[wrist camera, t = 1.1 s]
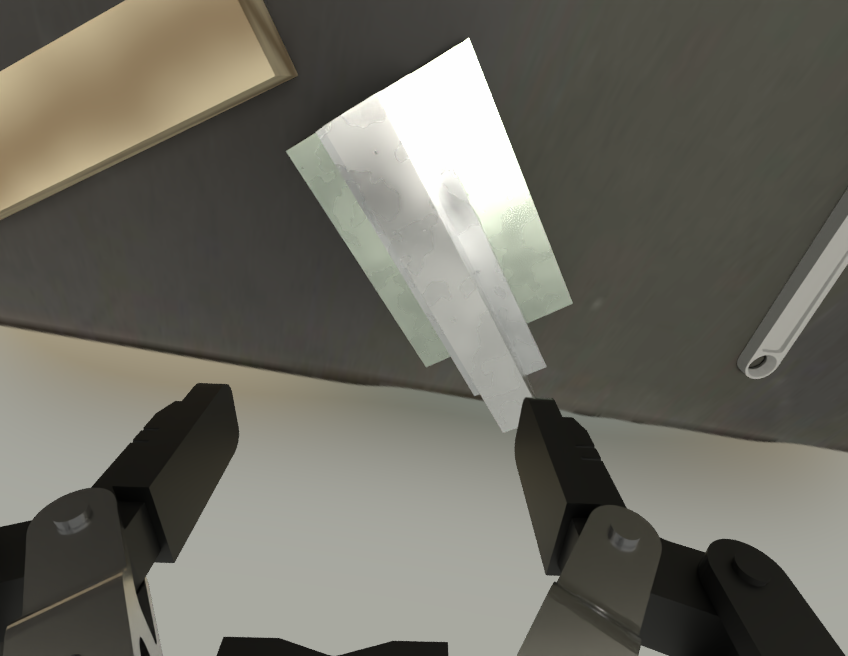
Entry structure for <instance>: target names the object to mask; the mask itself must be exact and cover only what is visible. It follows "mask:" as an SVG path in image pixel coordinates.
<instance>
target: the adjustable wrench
mask: <svg viewBox="0 0 848 656" xmlns="http://www.w3.org/2000/svg"><path fill="white" fill-rule="evenodd" d="M847 264H848V188H847V190H846V191H845V193H844V194H843V196H842V197H841V199H840V201H839V202H838V204H837V205H836V207H835V208H834V210H833V211H832V213H831V215H830V216H829V218H828V219H827V221H826V222H825V224H824V225H823V227H822V229H821V230H820V232H819V233H818V235H817V236H816V238H815V240H814V241H813V243H812V244H811V246H810V247H809V249H808V250H807V252H806V254H805V255H804V257H803V258H802V260H801V261H800V263H799V264H798V266H797V268H796V269H795V271H794V272H793V274H792V275H791V277H790V279H789V280H788V282H787V283H786V285H785V286H784V288H783V289H782V291H781V293H780V294H779V296H778V297H777V299H776V300H775V302H774V303H773V305H772V307H771V308H770V310H769V311H768V313H767V314H766V316H765V318H764V319H763V321H762V322H761V324H760V325H759V327H758V328H757V330H756V332H755V333H754V335H753V336H752V338H751V339H750V341H749V342H748V344H747V346H746V347H745V349H744V350H743V352H742V353H741V355H740V357H739V358H738V361H737V366H738V368H739V369H740V370H741V371H742V372H743V373H745V374H746V375H747V376H748V377H749V378H753V379H759V378H763V377H766V376H768V375H770V374H771V373H772V372H774V370H775V369H776V368H777V367H778V365H779V364H780V363H781V361H782V360H783V358H784V357H785V355H786V354H787V352H788V351H789V349H790V348H791V346H792V345H793V343H794V342H795V340H796V339H797V337H798V336H799V335H800V333H801V332H802V330H803V329H804V327H805V326H806V324H807V323H808V321H809V320H810V318H811V317H812V315H813V314H814V312H815V311H816V310H817V308H818V307H819V305H820V304H821V302H822V301H823V299H824V298H825V296H826V295H827V293H828V292H829V290H830V289H831V287H832V286H833V284H834V283H835V282H836V280H837V279H838V277H839V276H840V274H841V273H842V271H843V270H844V268H845V267H846V265H847ZM764 355H766V358H765V360H764V361H763V362H762V363H761V364H760V365H758V366H756V367H753V368H748V367H749V365H750V364H751V363H752V362H753V361H754V360H755V359H757V358H759V357H761V356H764Z"/></svg>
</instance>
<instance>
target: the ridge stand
mask: <svg viewBox="0 0 848 656" xmlns="http://www.w3.org/2000/svg"><path fill="white" fill-rule="evenodd" d="M322 127H323V128H321V129H319V130H318V131H316V133H315V134H313V135H311V136H310V137H308V138H307V139H305V140H303V141H302V142H300V143H298V144H297V145H295V146H294V147H292V148H290V149H289V150H287V151H286V152H287V154H288V155H289V157H290V158H291V160H292V161H293V163H294V164H295V166H296V168H297V169H298V171H299V172H300V174H301V175H302V177H303V178H304V180H305V181H306V183H307V184H308V186H309V188H310V189H311V191H312V192H313V194H314V195H315V197H316V198H317V200H318V201H319V203H320V204H321V206H322V208H323V209H324V211H325V212H326V214H327V215H328V217H329V218H330V220H331V221H332V223H333V225H334V226H335V228H336V229H337V231H338V232H339V234H340V235H341V237H342V238H343V240H344V241H345V243H346V245H347V246H348V248H349V249H350V251H351V252H352V254H353V255H354V257H355V258H356V260H357V262H358V263H359V265H360V266H361V268H362V269H363V271H364V272H365V274H366V275H367V277H368V278H369V280H370V282H371V283H372V285H373V286H374V288H375V289H376V291H377V292H378V294H379V295H380V297H381V298H382V300H383V302H384V303H385V305H386V306H387V308H388V309H389V311H390V312H391V314H392V315H393V317H394V319H395V320H396V322H397V323H398V325H399V326H400V328H401V329H402V331H403V332H404V334H405V335H406V337H407V339H408V340H409V342H410V343H411V345H412V346H413V348H414V349H415V351H416V352H417V354H418V356H419V357H420V359H421V360H422V362H423V363H424V365H425V366H426V367H428V366H430V365H432V364H435V363H437V362H439V361H442V360H444V359H446V358H448V357H451V358H452V359H453V361H454V363H455V364H456V366H457V368H458V369H459V371H460V373H461V374H462V376H463V378H464V379H465V381H466V383H467V384H468V386H469V388H470V389H471V391H472V393H473V394H474V396H476V395H478V394H480V395H481V396H482V398H483V400H484V401H485V403H486V405H487V406H488V408H489V410H490V411H491V413H492V415H493V416H494V418H495V420H496V421H497V423H498V425H499V427H500V428H501V430H502V432H503V433H504V432H507V431H510V430H512V429H515V428H518V423H519V418H520V413H521V408H522V403H523V400H524V398H525V397H535V394H534V392H533V389H532V386H531V383H530V381H529V378H528V374H530V373H533V372H535V371H537V370H540V369H542V368H545V367H546V364H545V362H544V360H543V358H542V355H541V353H540V351H539V348H538V346H537V344H536V342H535V339H534V337H533V335H532V333H531V330H530V328H529V326H528V323H529V322H531V321H534V320H536V319H538V318H540V317H543V316H545V315H547V314H550V313H552V312H554V311H556V310H559V309H561V308H563V307H566V306H568V305H570V304H573V303H572V300H571V298H570V295H569V292H568V290H567V287H566V285H565V282H564V280H563V277H562V275H561V272H560V269H559V267H558V264H557V262H556V259H555V257H554V254H553V252H552V249H551V246H550V244H549V241H548V239H547V236H546V234H545V231H544V229H543V226H542V223H541V221H540V218H539V216H538V213H537V211H536V208H535V206H534V203H533V200H532V198H531V195H530V193H529V190H528V188H527V185H526V183H525V180H524V177H523V175H522V172H521V170H520V167H519V165H518V162H517V160H516V157H515V154H514V152H513V149H512V147H511V144H510V142H509V139H508V137H507V134H506V131H505V129H504V126H503V124H502V121H501V119H500V116H499V114H498V111H497V108H496V106H495V103H494V101H493V98H492V96H491V93H490V91H489V88H488V85H487V83H486V80H485V78H484V75H483V73H482V70H481V68H480V65H479V62H478V60H477V57H476V55H475V52H474V50H473V47H472V45H471V42H470V40H469V38H468V39H467V40H465V41H463V42H462V43H460V44H459V45H457V46H455V47H454V48H452V49H450V50H449V51H447V52H446V53H444V54H442V55H441V56H439V57H438V58H436V59H434V60H433V61H431V62H429V63H428V64H426V65H425V66H423V67H421V68H420V69H418V70H416V71H415V72H413V73H412V74H408V75H407V76H405V77H403V78H402V79H400V80H399V81H397V82H395V83H394V84H392V85H391V86H389V87H387V88H386V89H384V90H382V91H380V92H378V93H376V94H374V95H372V96H371V97H369V98H368V99H366V100H364V101H363V102H361V103H360V104H358V105H356V106H355V107H353V108H352V109H350V110H348V111H347V112H345V113H343V114H342V115H340V116H339V117H337V118H335V119H334V120H332V121H331V122H329V123H327V124H326V125H324V126H322ZM535 398H536V397H535Z"/></svg>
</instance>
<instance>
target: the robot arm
mask: <svg viewBox="0 0 848 656" xmlns="http://www.w3.org/2000/svg"><path fill="white" fill-rule="evenodd" d="M238 438H239V427H238V422H237V417H236V411H235V406H234V400H233V395H232V390H231V388H230V387H229V385H227V384H208V383H198V384H196V385H195V386H194V387H193V388H192V390H191V391H190V392H189V393H188V394H187V396H186V397H185V398H184V399H183V400H182V401H175V402H173V403H172V404H170V405H168V406H167V407H165V408H164V409H162V410H161V411H159V412H157V413H156V414H155V415H154V416H153V418H152V419H151V420H150V421H149V422H148V423H147V424H146V426H145V427H144V430H143V431H140V433H139V434H138V435H137V436H136V437H135V438H134V439H133V443H130V444H129V445H128V446H127V447H126V449H124V451H123V452H122V453H121V454H120V455H119V456H118V457H117V459H116V460H115V461H114V462H113V463H112V464H111V465H110V467H109V468H108V469H107V470H106V471H105V472H104V473H103V475H102V476H101V477H100V478H99V479H98V480H97V481H96V483H95V484H94V485H93V486H92V487H91V488H86V489H82V490H78V491H75V492H72V493H69V494H67V495H64V496H62V497H60V498H58V499H57V500H55V501H54V502H52V503H50V504H49V505H47V506H46V507H45V508H43V509H42V510H41V511H40V512H39V513H38V514H37V515H36V516H35V517H34V519H33V520H32V521H26V522H22V523H17V524H13V525H8V526H3V527H0V656H163V654H162V649H161V644H160V639H159V634H158V629H157V624H156V619H155V614H154V609H153V604H152V599H151V594H150V589H149V584H148V581H147V578H146V575H147V573H148V572H149V570H150V568H151V567H152V565H153V563H154V562H160V563H174V562H175V561H176V559H177V557H178V555H179V553H180V552H181V550H182V548H183V546H184V544H185V542H186V541H187V539H188V537H189V535H190V533H191V531H192V530H193V528H194V526H195V524H196V522H197V521H198V519H199V517H200V515H201V513H202V511H203V509H204V508H205V506H206V504H207V502H208V500H209V498H210V497H211V495H212V493H213V491H214V489H215V488H216V486H217V484H218V482H219V480H220V479H221V477H222V475H223V473H224V471H225V469H226V468H227V466H228V464H229V462H230V460H231V458H232V457H233V455H234V453H235V450H236V448H237V444H238ZM515 460H516V465H517V469H518V472H519V476H520V480H521V484H522V487H523V491H524V495H525V499H526V503H527V506H528V510H529V514H530V517H531V521H532V525H533V529H534V533H535V536H536V540H537V544H538V548H539V551H540V555H541V559H542V563H543V566H544V570H545V574H546V575H554V576H555V575H557V576H560V577H559V579H558V581H557V583H556V582H554V583H553V585H552V586H551V588H550V590H549V592H548V594H547V596H546V598H545V600H544V602H543V604H542V606H541V608H540V610H539V612H538V614H537V616H536V618H535V620H534V622H533V624H532V626H531V628H530V630H529V632H528V634H527V636H526V638H525V640H524V642H523V644H522V646H521V648H520V650H519V652H518V654H517V656H638V654H639V650H640V646H641V645H642V646H645V647H647V648H650V649H653V650H655V651H658V652H661V653H663V654H666V655H669V656H845V654H844V653H843V652H842V650H841V649H840V648H839V646H838V645H837V643H836V642H835V641H834V639H833V638H832V637H831V635H830V634H829V632H828V631H827V630H826V628H825V627H824V626H823V624H822V623H821V621H820V620H819V619H818V617H817V616H816V614H815V613H814V612H813V610H812V609H811V608H810V606H809V605H808V603H807V602H806V601H805V599H804V598H803V597H802V595H801V594H800V593H799V591H798V590H797V588H796V587H795V585H794V584H793V583H792V581H791V580H790V579H789V577H788V576H787V575H786V573H785V572H784V571H783V570H782V568H781V567H780V566H779V565H777V563H776V562H774V561H773V560H772V559H771V558H769V557H768V556H767V555H765V554H764V553H763V552H761V551H759V550H758V549H756V548H754V547H752V546H750V545H748V544H745V543H743V542H740V541H736V540H731V539H719V540H716V541H714V542H712V543H711V544H710V545H709V547H708V549H707V551H706V553H705V552H702V551H699V550H695V549H692V548H689V547H686V546H682V545H679V544H676V543H672V542H670V541H667V540H664V539H662V538H660V537H659V536H658V534H657V532H656V531H655V529H654V528H653V527H652V526H651V524H650V523H649V522H648V521H646V520H645V519H644V518H643V517H641V516H640V515H639V514H637V513H635V512H633V511H631V510H629V509H627V508H626V506H625V504H624V502H623V500H622V498H621V496H620V494H619V492H618V490H617V489H616V487H615V485H614V483H613V481H612V479H611V477H610V475H609V473H608V471H607V469H606V467H605V465H604V463H603V461H601V457H600V456H599V453H598V452H597V450H596V449H595V448H594V444H593V442H592V440H591V438H590V436H589V434H588V432H587V430H585V429H584V428H583V427H582V426H581V425H580V424H579V423H578V422H577V421H576V420H575V419H574V418H571V417H562V415H561V413H560V411H559V409H558V407H557V404H556V402H555V400H554V399H553V398H535V397H525V398H524V400H523V403H522V408H521V413H520V418H519V423H518V429H517V434H516V439H515ZM217 656H330V655H326V654H324V653H321V652H317V651H315V650H312V649H309V648H306V647H303V646H301V645H298V644H295V643H292V642H289V641H286V640H283V639H280V638H251V637H247V638H246V637H223V640H222V643H221V645H220V648H219V651H218V654H217ZM338 656H448V642H416V641H413V642H412V641H391V642H387V643H384V644H380V645H377V646H372V647H369V648H365V649H361V650H358V651H354V652H350V653H347V654H343V655H338Z"/></svg>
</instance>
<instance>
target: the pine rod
mask: <svg viewBox="0 0 848 656" xmlns="http://www.w3.org/2000/svg"><path fill="white" fill-rule="evenodd" d="M296 76H298V74H297V72H296V70H295V67H294V65H293V63H292V61H291V59H290V57H289V55H288V53H287V50H286V48H285V46H284V44H283V42H282V40H281V38H280V36H279V33H278V31H277V29H276V27H275V25H274V23H273V21H272V19H271V16H270V14H269V12H268V10H267V8H266V6H265V4H264V2H263V0H125V1H123V2H122V3H120V4H118V5H116V6H115V7H113V8H111V9H109V10H108V11H106V12H104V13H102V14H101V15H99V16H97V17H95V18H94V19H92V20H90V21H88V22H87V23H85V24H83V25H81V26H79V27H78V28H76V29H74V30H72V31H71V32H69V33H67V34H65V35H64V36H62V37H60V38H58V39H57V40H55V41H53V42H51V43H50V44H48V45H46V46H44V47H43V48H41V49H39V50H37V51H35V52H34V53H32V54H30V55H28V56H27V57H25V58H23V59H21V60H20V61H18V62H16V63H14V64H13V65H11V66H9V67H7V68H6V69H4V70H2V71H0V220H2V219H4V218H6V217H8V216H10V215H12V214H14V213H16V212H18V211H21V210H23V209H25V208H27V207H29V206H31V205H33V204H35V203H37V202H39V201H41V200H43V199H45V198H47V197H49V196H51V195H53V194H56V193H58V192H60V191H62V190H64V189H66V188H68V187H70V186H72V185H74V184H76V183H78V182H80V181H82V180H84V179H86V178H88V177H91V176H93V175H95V174H97V173H99V172H101V171H103V170H105V169H107V168H109V167H111V166H113V165H115V164H117V163H119V162H121V161H123V160H125V159H128V158H130V157H132V156H134V155H136V154H138V153H140V152H142V151H144V150H146V149H148V148H150V147H152V146H154V145H156V144H158V143H160V142H163V141H165V140H167V139H169V138H171V137H173V136H175V135H177V134H179V133H181V132H183V131H185V130H187V129H189V128H191V127H193V126H195V125H198V124H200V123H202V122H204V121H206V120H208V119H210V118H212V117H214V116H216V115H218V114H220V113H222V112H224V111H226V110H228V109H230V108H233V107H235V106H237V105H239V104H241V103H243V102H245V101H247V100H249V99H251V98H253V97H255V96H257V95H259V94H261V93H263V92H265V91H267V90H270V89H272V88H274V87H276V86H278V85H280V84H282V83H284V82H286V81H288V80H290V79H292V78H294V77H296Z"/></svg>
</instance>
